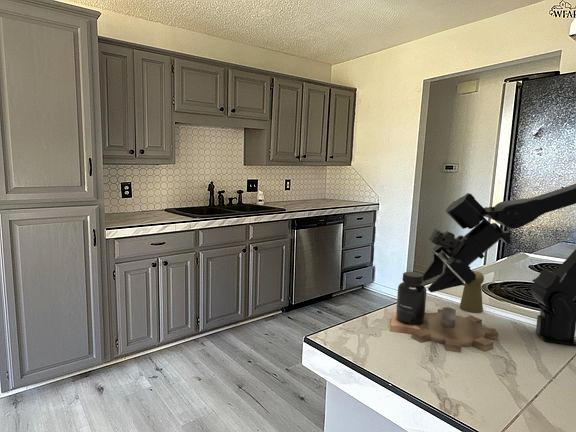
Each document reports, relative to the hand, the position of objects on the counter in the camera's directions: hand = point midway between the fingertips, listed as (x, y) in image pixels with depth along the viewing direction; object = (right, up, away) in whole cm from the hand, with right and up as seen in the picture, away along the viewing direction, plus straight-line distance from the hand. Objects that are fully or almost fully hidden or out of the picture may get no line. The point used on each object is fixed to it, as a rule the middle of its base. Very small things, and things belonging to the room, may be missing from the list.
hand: (425, 284), depth 92 cm
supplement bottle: (-3, -10, +2) cm, 10 cm away
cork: (+18, -10, +14) cm, 25 cm away
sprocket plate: (+4, -11, 0) cm, 12 cm away
